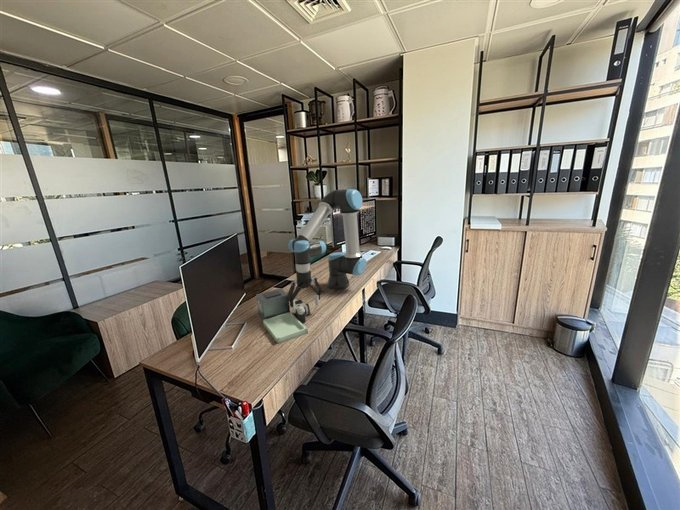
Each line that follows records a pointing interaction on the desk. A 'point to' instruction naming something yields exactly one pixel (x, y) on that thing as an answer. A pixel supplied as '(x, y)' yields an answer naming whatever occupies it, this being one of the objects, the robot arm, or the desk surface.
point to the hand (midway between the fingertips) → (305, 308)
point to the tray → (284, 327)
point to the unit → (272, 303)
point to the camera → (301, 310)
